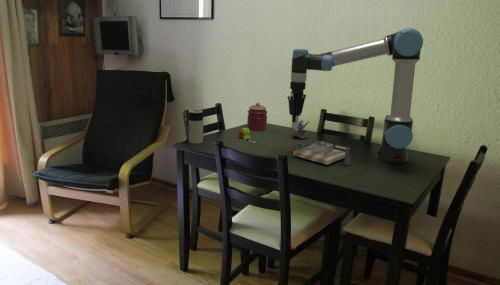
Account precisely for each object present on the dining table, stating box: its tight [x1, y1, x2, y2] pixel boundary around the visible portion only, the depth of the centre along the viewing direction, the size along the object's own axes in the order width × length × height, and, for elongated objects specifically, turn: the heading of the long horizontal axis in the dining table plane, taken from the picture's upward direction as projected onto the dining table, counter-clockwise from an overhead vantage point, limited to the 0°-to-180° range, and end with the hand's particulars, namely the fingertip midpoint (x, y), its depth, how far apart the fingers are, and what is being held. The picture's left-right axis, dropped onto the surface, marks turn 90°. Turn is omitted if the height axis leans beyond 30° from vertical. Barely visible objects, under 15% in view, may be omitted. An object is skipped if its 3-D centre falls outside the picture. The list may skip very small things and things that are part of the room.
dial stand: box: [335, 145, 352, 167], centre depth 191 cm, size 8×2×8 cm, turn 48°
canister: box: [246, 102, 268, 132], centre depth 254 cm, size 13×13×18 cm
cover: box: [310, 140, 334, 155], centre depth 199 cm, size 8×8×5 cm
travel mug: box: [188, 109, 204, 144], centre depth 218 cm, size 8×8×18 cm
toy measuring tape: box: [238, 127, 257, 144], centre depth 229 cm, size 6×20×7 cm, turn 24°
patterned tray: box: [292, 141, 345, 165], centre depth 200 cm, size 24×20×4 cm
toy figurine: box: [290, 119, 310, 140], centre depth 237 cm, size 11×11×12 cm
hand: (294, 128), depth 199 cm, fingers closed
